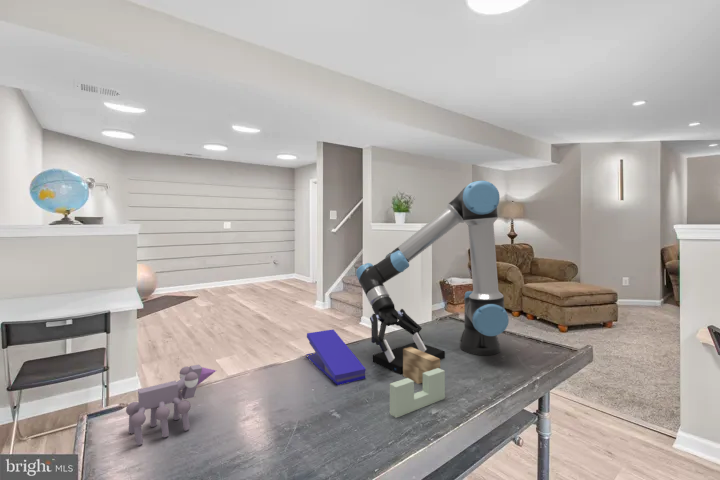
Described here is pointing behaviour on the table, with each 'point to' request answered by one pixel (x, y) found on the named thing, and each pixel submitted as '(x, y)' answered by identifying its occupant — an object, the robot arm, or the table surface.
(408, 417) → the table surface
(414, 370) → the tan wooden block
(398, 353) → the external hard drive
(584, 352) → the table surface
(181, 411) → the grey toy animal figure
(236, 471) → the table surface
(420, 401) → the green u-shaped block
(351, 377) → the blue foot pedal
